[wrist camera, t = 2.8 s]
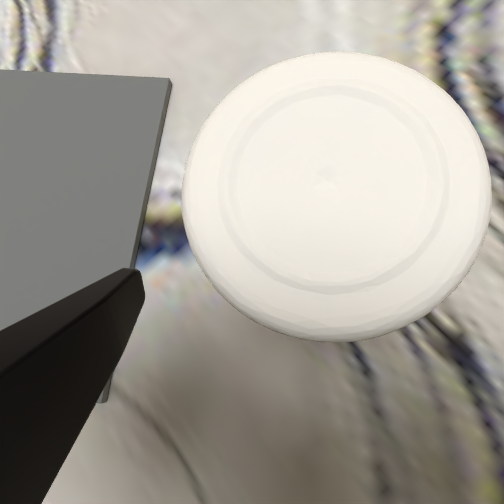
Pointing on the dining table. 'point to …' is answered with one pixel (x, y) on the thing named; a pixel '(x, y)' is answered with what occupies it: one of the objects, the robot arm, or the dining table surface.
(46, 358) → the robot arm
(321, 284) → the sprinkles bottle
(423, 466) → the dining table surface
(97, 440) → the dining table surface
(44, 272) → the mat
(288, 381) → the dining table surface
